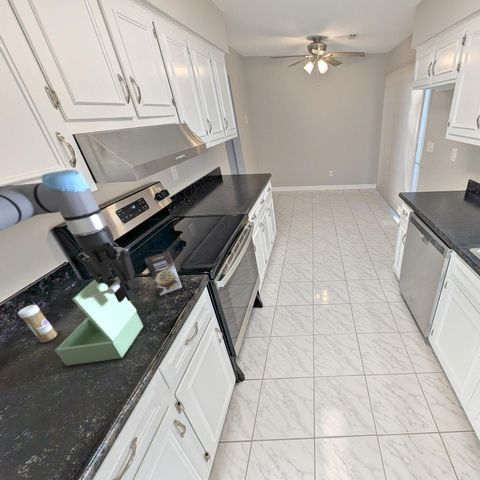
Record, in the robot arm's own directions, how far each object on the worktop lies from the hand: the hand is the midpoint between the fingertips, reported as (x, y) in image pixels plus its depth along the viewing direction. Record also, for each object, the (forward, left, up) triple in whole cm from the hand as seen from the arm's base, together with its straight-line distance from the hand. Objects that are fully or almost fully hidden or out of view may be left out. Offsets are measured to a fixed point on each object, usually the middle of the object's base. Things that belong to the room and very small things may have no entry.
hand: (127, 298), depth 78 cm
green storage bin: (-13, 0, -18) cm, 22 cm away
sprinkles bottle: (-37, +7, -18) cm, 42 cm away
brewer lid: (-7, 0, -2) cm, 7 cm away
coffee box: (-4, +29, -18) cm, 34 cm away
